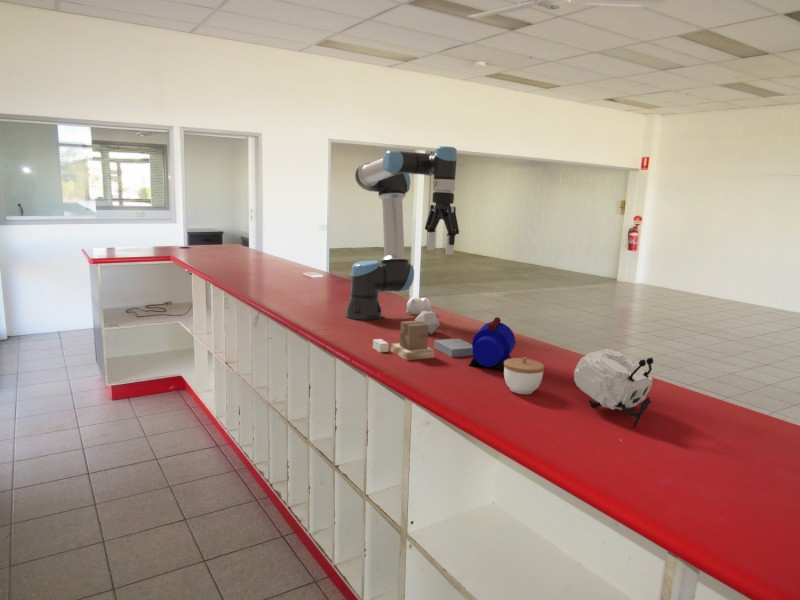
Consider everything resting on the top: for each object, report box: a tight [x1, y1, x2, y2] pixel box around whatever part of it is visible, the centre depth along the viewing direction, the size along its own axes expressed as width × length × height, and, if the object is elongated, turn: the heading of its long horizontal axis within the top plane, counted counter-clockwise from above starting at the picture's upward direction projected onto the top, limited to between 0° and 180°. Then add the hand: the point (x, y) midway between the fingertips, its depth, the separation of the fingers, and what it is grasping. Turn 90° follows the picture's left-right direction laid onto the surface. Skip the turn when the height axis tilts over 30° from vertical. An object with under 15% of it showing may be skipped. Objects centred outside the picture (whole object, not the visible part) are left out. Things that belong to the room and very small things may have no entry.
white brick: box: [372, 338, 389, 353], centre depth 189 cm, size 6×3×3 cm, turn 26°
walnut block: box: [399, 320, 429, 350], centre depth 184 cm, size 6×7×8 cm
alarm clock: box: [467, 316, 516, 372], centre depth 175 cm, size 12×12×15 cm
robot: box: [573, 348, 654, 429], centre depth 141 cm, size 17×20×18 cm
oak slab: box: [390, 342, 436, 361], centre depth 185 cm, size 12×10×3 cm
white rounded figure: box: [405, 296, 433, 316], centre depth 247 cm, size 9×11×12 cm
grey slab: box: [433, 338, 473, 358], centre depth 191 cm, size 12×10×3 cm
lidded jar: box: [503, 356, 545, 395], centre depth 154 cm, size 11×11×9 cm
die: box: [414, 310, 441, 335], centre depth 215 cm, size 8×9×10 cm
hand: (439, 252), depth 202 cm, fingers open, 13 cm apart
